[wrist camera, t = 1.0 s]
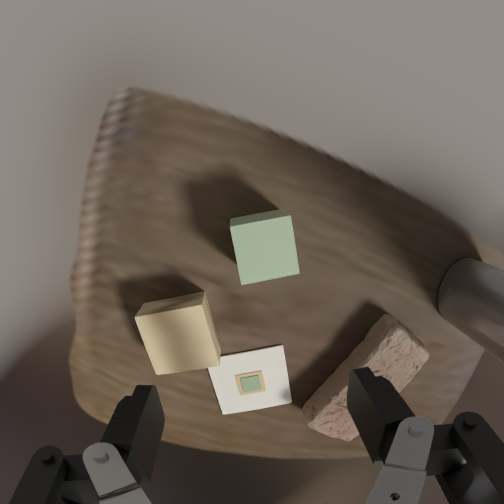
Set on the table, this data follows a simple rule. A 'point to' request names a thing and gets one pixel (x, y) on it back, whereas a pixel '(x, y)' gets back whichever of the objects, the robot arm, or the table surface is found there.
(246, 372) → the page
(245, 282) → the green block
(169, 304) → the base block
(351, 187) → the table surface
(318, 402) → the brick
